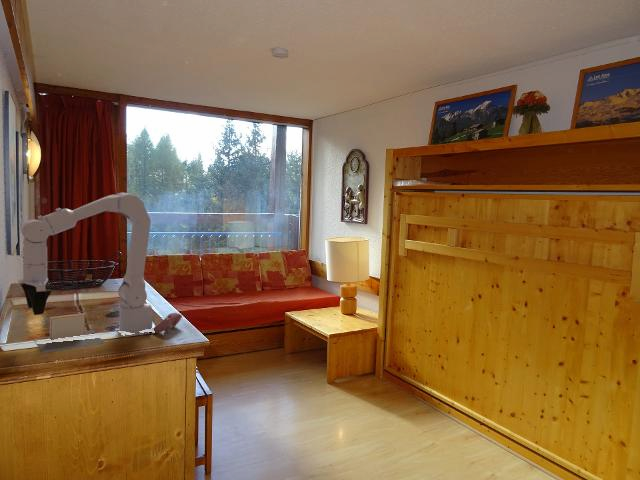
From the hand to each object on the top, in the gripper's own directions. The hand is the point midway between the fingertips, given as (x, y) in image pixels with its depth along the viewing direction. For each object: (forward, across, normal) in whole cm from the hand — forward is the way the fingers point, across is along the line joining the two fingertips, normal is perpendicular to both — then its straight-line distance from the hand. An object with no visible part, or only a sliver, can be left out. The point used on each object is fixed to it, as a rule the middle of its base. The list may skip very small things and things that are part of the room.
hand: (35, 310), depth 130 cm
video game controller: (+10, +5, +37) cm, 38 cm away
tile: (+10, 0, +8) cm, 13 cm away
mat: (+10, +2, +8) cm, 13 cm away
